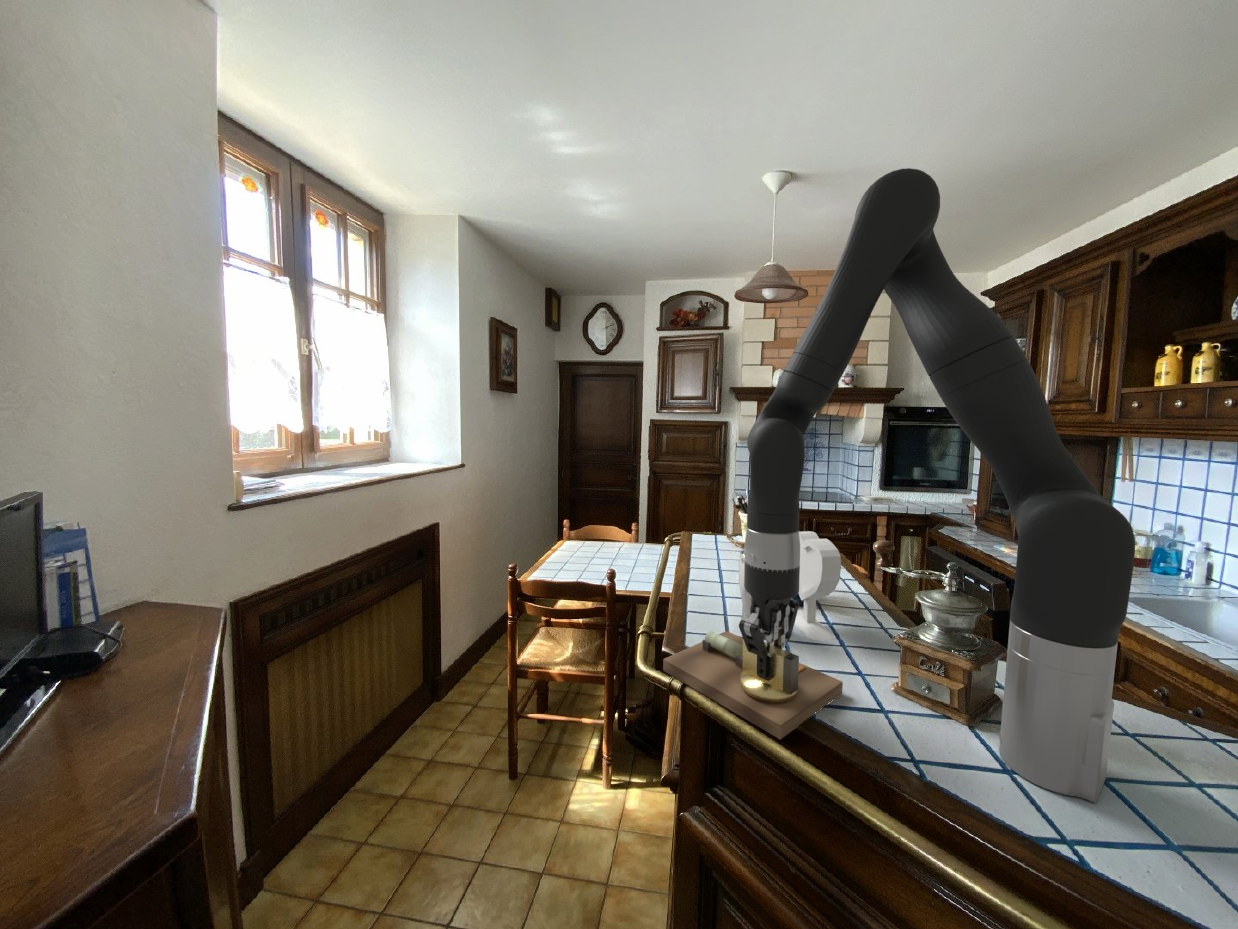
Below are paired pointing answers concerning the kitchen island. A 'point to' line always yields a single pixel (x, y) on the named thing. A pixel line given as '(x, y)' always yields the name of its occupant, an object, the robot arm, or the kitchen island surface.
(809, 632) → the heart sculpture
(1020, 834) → the kitchen island surface
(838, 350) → the robot arm
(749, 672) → the wing knob
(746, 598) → the beer glass
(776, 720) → the knob and handle board
